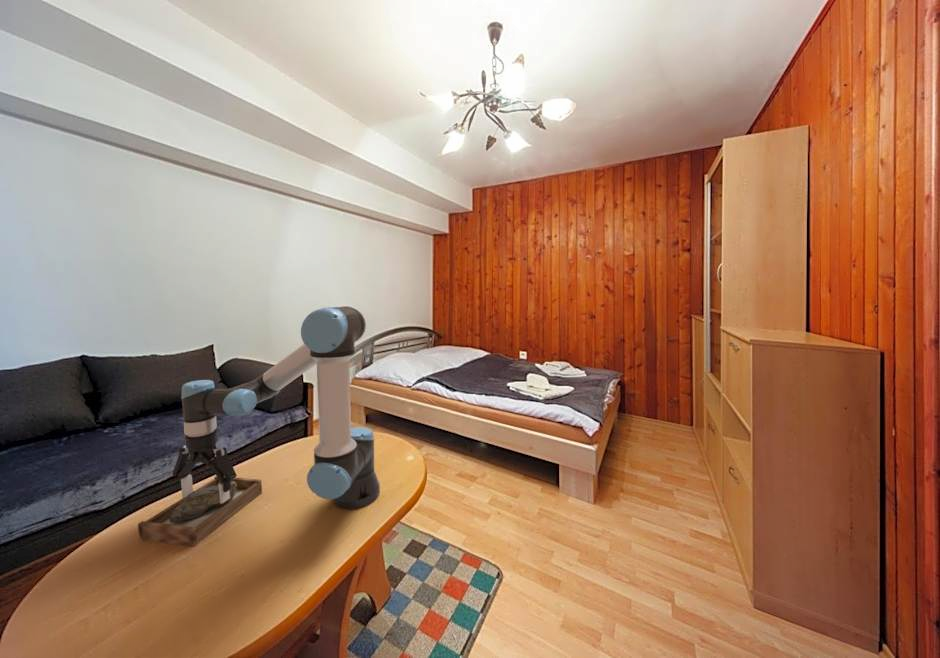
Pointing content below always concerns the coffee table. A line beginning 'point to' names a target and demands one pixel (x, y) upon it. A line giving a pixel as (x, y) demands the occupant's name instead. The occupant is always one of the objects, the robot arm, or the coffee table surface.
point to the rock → (200, 503)
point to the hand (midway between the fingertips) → (206, 498)
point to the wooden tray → (201, 526)
